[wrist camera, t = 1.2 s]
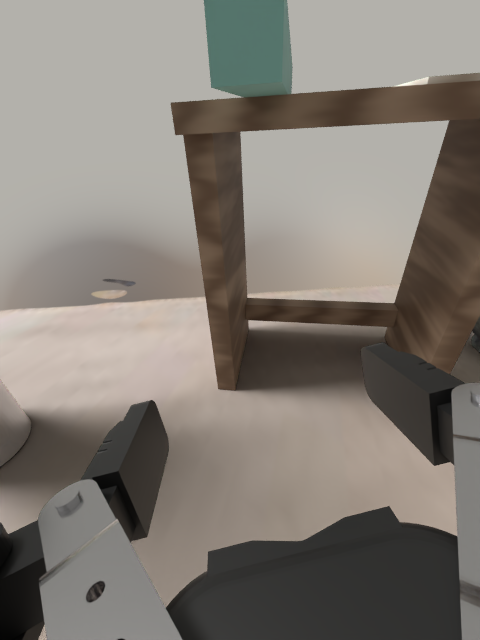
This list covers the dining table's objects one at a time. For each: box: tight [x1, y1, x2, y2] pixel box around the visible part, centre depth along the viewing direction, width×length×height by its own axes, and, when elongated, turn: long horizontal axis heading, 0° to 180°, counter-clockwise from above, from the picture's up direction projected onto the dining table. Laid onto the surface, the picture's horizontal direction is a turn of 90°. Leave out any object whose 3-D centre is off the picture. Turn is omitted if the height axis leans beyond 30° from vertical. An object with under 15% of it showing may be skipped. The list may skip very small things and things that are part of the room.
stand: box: [171, 73, 480, 390], centre depth 35 cm, size 28×16×32 cm, turn 81°
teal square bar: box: [204, 0, 292, 97], centre depth 22 cm, size 3×26×3 cm, turn 171°
